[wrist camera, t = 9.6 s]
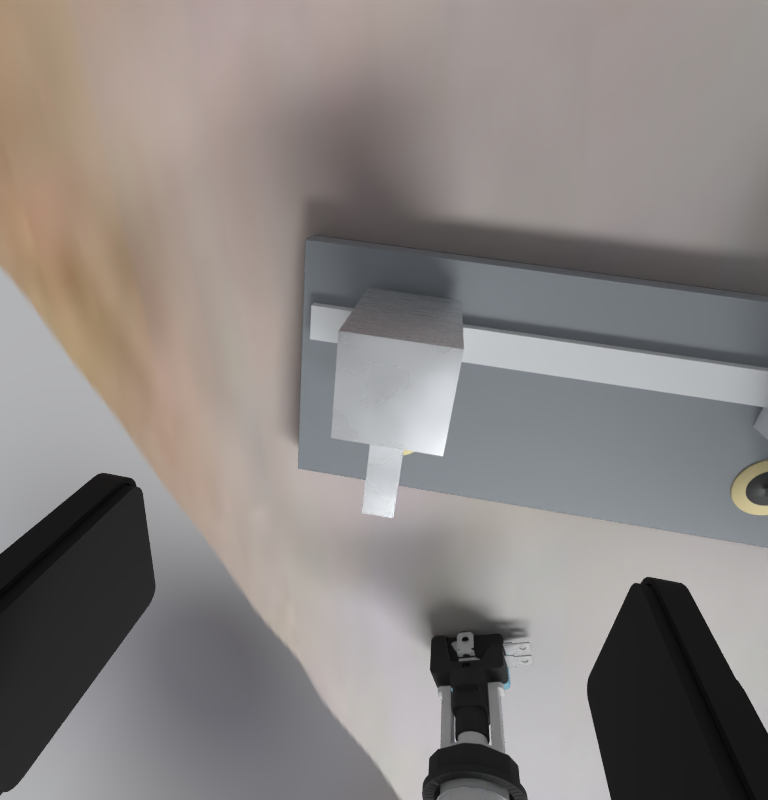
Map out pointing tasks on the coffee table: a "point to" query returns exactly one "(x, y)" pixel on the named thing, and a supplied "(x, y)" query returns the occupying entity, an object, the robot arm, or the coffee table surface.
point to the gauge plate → (566, 389)
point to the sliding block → (396, 383)
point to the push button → (473, 719)
